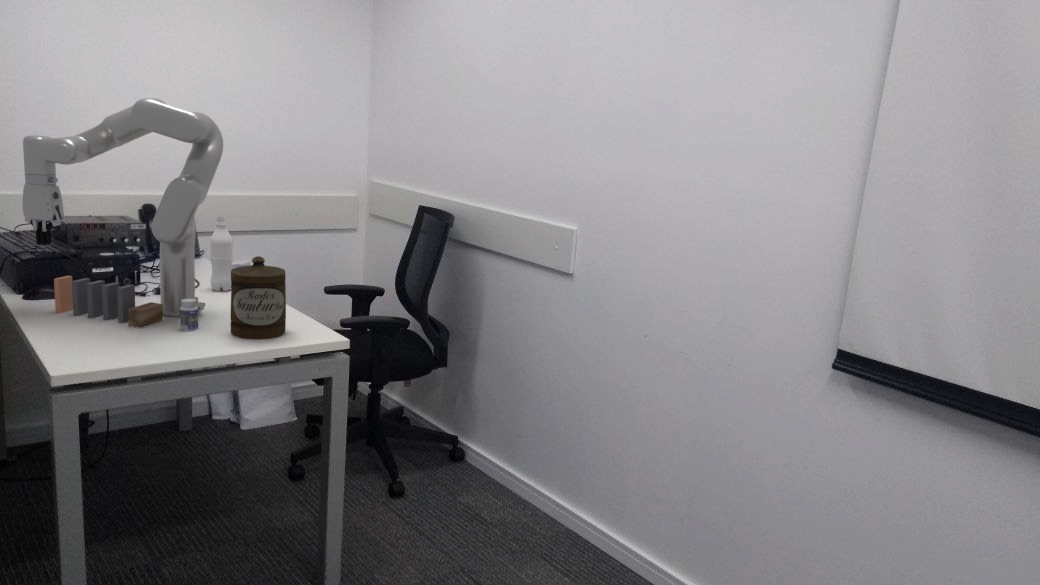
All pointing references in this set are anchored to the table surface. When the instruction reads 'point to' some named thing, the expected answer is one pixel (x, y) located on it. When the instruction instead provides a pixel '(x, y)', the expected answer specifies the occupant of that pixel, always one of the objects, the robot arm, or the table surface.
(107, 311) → the domino
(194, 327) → the pill bottle
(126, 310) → the domino
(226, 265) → the water bottle
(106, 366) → the table surface
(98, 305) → the domino
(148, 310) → the brown wooden block
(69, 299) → the domino
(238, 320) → the wooden container
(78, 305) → the domino
